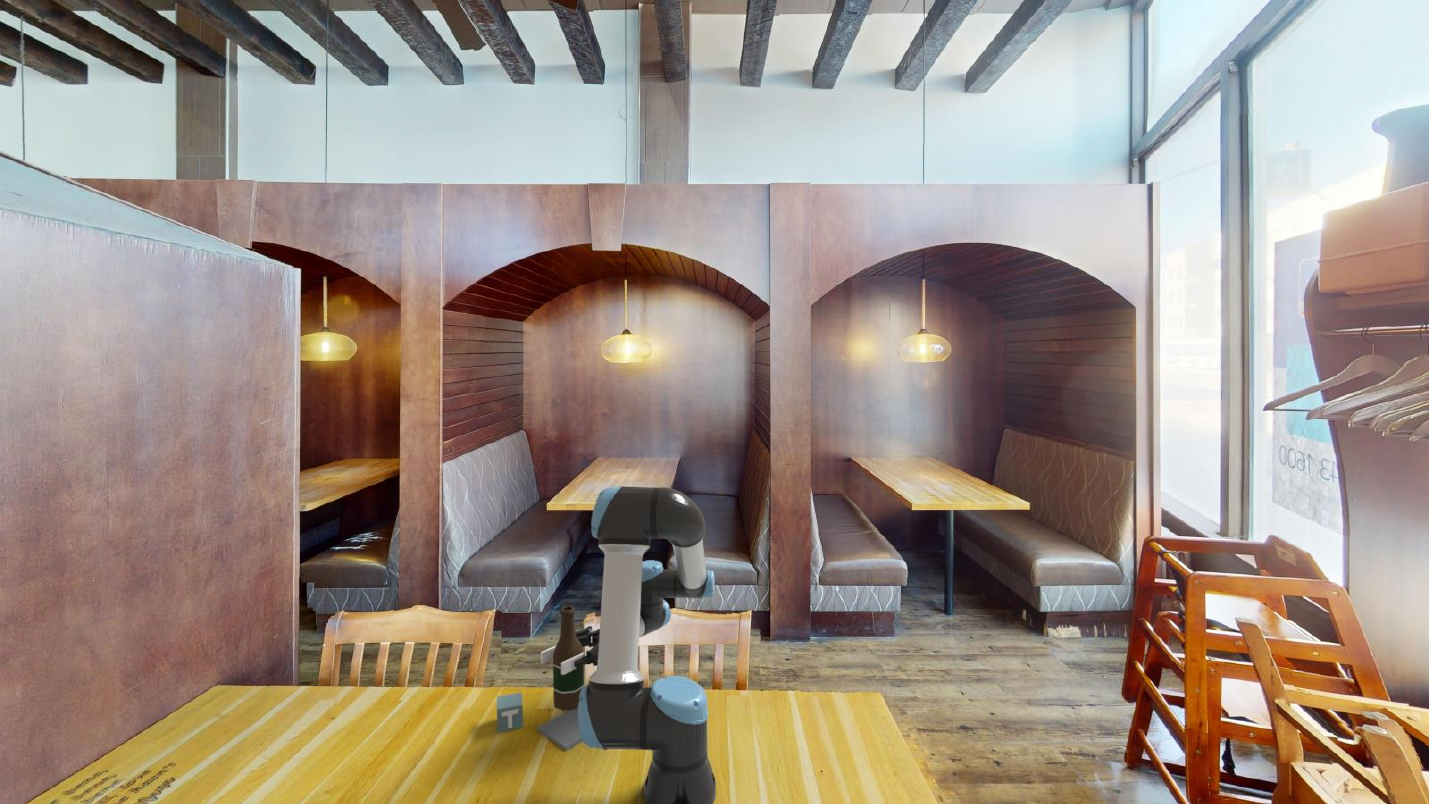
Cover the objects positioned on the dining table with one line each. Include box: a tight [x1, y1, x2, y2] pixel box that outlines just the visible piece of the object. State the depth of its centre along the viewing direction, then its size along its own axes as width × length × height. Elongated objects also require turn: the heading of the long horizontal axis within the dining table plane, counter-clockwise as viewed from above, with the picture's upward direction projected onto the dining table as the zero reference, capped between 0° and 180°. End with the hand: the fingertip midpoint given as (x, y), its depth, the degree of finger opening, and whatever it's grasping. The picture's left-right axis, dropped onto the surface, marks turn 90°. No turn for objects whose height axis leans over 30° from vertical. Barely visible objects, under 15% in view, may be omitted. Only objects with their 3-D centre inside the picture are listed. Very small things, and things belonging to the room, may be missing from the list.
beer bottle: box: [552, 605, 585, 712], centre depth 145 cm, size 8×8×24 cm
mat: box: [536, 708, 583, 751], centre depth 147 cm, size 12×12×1 cm
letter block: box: [496, 691, 524, 733], centre depth 149 cm, size 6×6×6 cm
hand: (551, 663), depth 141 cm, fingers closed on beer bottle, 7 cm apart
